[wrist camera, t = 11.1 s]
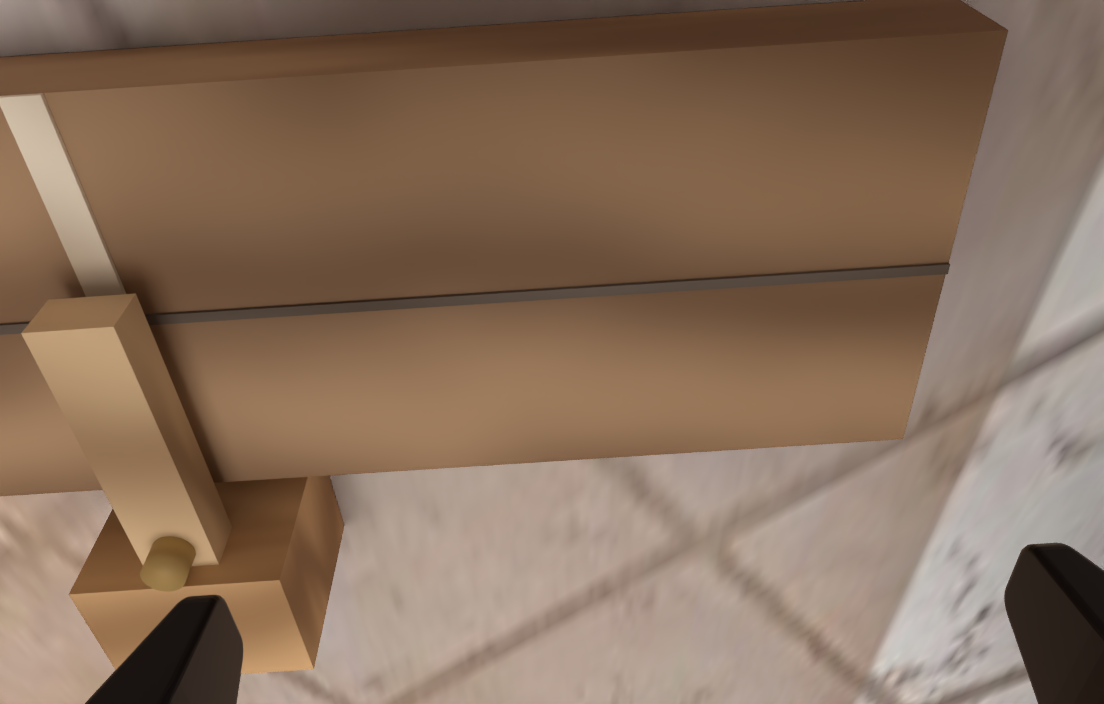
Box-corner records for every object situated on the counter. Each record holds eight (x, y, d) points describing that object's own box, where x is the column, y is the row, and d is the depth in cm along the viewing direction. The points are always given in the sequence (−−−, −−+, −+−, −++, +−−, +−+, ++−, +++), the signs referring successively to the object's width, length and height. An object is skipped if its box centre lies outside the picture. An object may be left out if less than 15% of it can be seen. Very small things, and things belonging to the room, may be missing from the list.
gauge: (344, 524, 26) (312, 676, 22) (183, 535, 26) (120, 688, 22) (252, 215, 20) (182, 344, 16) (40, 230, 20) (-85, 363, 16)
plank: (869, 377, 23) (904, 441, 21) (-72, 437, 24) (-129, 507, 21) (951, -5, 17) (1010, 31, 15) (-309, 77, 18) (-420, 125, 16)
